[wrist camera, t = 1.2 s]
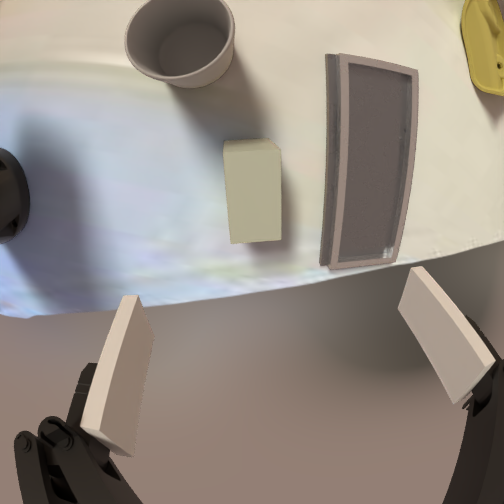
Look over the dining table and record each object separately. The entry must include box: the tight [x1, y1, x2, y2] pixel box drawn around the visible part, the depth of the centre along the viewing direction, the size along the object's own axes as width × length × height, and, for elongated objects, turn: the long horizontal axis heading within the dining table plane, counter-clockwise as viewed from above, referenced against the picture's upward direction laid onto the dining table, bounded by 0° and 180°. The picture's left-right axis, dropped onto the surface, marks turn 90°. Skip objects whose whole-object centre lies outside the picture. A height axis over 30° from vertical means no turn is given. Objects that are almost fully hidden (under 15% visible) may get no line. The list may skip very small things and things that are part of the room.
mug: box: [124, 0, 235, 88], centre depth 18 cm, size 12×8×11 cm
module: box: [223, 138, 281, 244], centre depth 28 cm, size 5×9×8 cm, turn 3°
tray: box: [319, 53, 418, 269], centre depth 31 cm, size 13×28×2 cm, turn 3°
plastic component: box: [461, 0, 504, 96], centre depth 18 cm, size 20×7×10 cm
